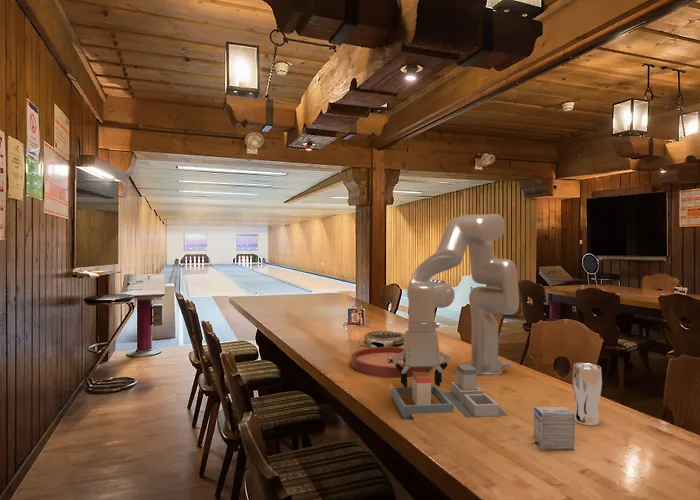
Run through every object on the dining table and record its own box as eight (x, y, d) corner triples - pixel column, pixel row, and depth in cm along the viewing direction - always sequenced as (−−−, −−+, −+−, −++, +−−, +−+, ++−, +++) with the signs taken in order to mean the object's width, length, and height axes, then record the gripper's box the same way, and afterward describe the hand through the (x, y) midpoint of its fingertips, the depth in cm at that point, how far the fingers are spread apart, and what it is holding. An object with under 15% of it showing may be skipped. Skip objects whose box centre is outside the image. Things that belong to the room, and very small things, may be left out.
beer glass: (575, 414, 125) (576, 361, 125) (603, 420, 121) (604, 365, 121) (569, 421, 120) (570, 366, 120) (598, 428, 115) (599, 371, 115)
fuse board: (479, 395, 140) (479, 381, 140) (508, 421, 120) (508, 404, 120) (442, 396, 139) (442, 382, 139) (465, 422, 119) (465, 406, 119)
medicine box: (565, 441, 108) (565, 406, 108) (575, 450, 104) (575, 413, 103) (533, 442, 108) (533, 406, 108) (541, 450, 103) (542, 413, 103)
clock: (351, 346, 189) (424, 346, 189) (351, 356, 189) (424, 356, 190) (351, 367, 158) (440, 367, 158) (351, 378, 158) (440, 379, 158)
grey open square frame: (436, 397, 139) (436, 385, 139) (453, 417, 123) (453, 404, 123) (391, 398, 137) (391, 387, 137) (403, 419, 121) (403, 406, 121)
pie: (358, 337, 227) (359, 327, 227) (412, 338, 226) (412, 328, 226) (358, 350, 199) (358, 339, 199) (420, 352, 198) (420, 341, 198)
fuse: (469, 392, 138) (469, 364, 138) (476, 399, 132) (476, 369, 132) (456, 393, 138) (456, 364, 138) (463, 400, 132) (463, 369, 132)
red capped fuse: (425, 401, 133) (425, 371, 133) (430, 409, 127) (431, 377, 127) (412, 401, 133) (412, 371, 133) (417, 409, 127) (417, 378, 127)
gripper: (446, 324, 134) (445, 380, 134) (389, 325, 132) (389, 382, 133) (454, 329, 127) (454, 389, 127) (394, 330, 125) (394, 390, 125)
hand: (421, 385), depth 130 cm, fingers open, 9 cm apart
